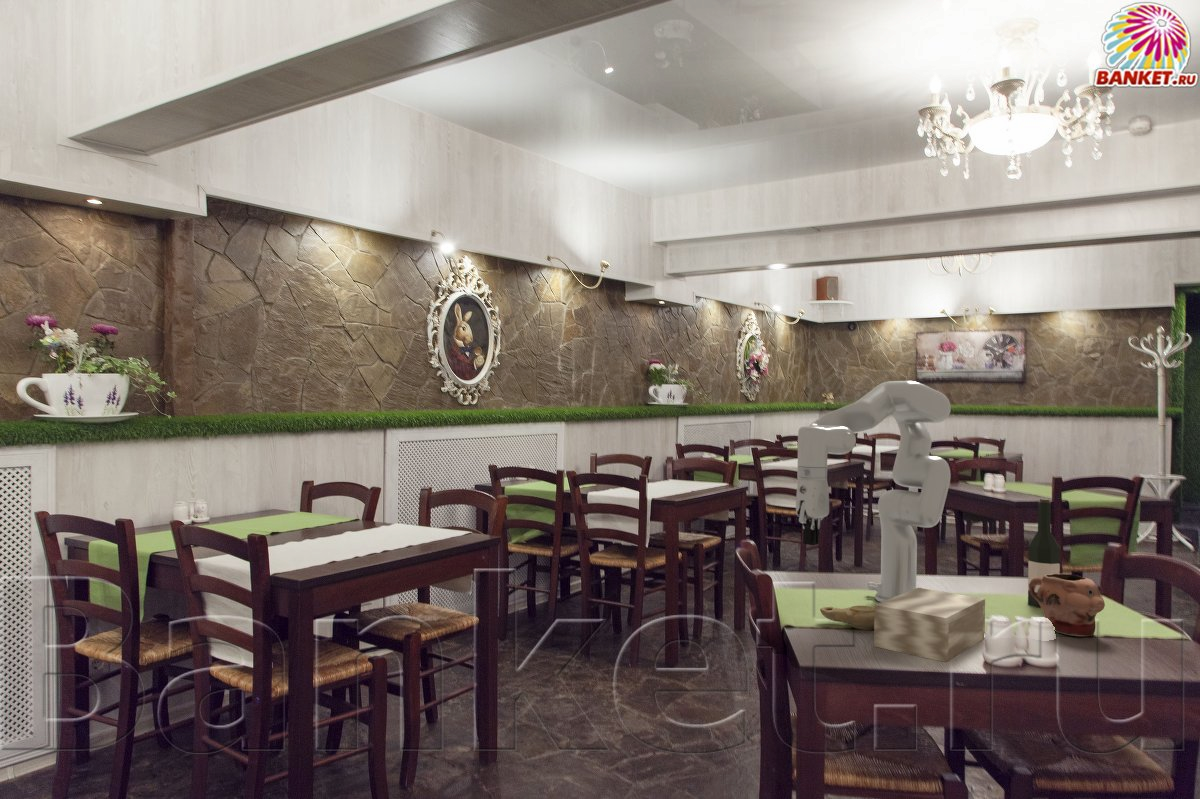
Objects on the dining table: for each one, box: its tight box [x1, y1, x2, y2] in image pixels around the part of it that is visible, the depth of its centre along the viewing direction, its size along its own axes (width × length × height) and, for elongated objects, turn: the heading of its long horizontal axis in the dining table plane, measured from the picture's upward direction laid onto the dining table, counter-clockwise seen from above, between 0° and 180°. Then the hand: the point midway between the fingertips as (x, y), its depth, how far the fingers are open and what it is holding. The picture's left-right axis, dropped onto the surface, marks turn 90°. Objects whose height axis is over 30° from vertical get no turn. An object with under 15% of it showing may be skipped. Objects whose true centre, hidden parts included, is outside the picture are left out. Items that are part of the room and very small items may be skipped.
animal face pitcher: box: [1029, 573, 1106, 637], centre depth 201 cm, size 20×12×14 cm, turn 28°
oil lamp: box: [819, 605, 875, 631], centre depth 201 cm, size 11×14×5 cm
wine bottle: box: [1027, 498, 1061, 609], centre depth 228 cm, size 8×8×30 cm
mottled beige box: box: [873, 587, 986, 663], centre depth 189 cm, size 16×26×10 cm, turn 137°
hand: (811, 543), depth 210 cm, fingers closed
